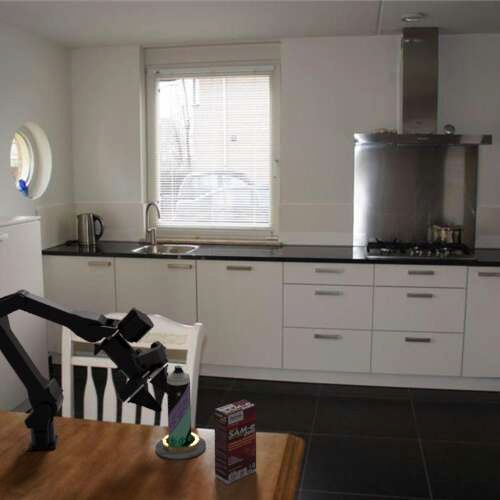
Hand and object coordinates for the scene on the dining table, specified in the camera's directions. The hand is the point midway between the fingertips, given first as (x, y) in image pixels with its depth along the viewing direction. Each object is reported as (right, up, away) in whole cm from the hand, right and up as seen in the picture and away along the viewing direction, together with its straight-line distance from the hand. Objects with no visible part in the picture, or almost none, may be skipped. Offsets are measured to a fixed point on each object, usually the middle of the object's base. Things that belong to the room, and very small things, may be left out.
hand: (167, 403), depth 151 cm
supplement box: (+17, -13, -11) cm, 24 cm away
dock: (+3, -11, +1) cm, 12 cm away
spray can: (+3, -11, +1) cm, 11 cm away
